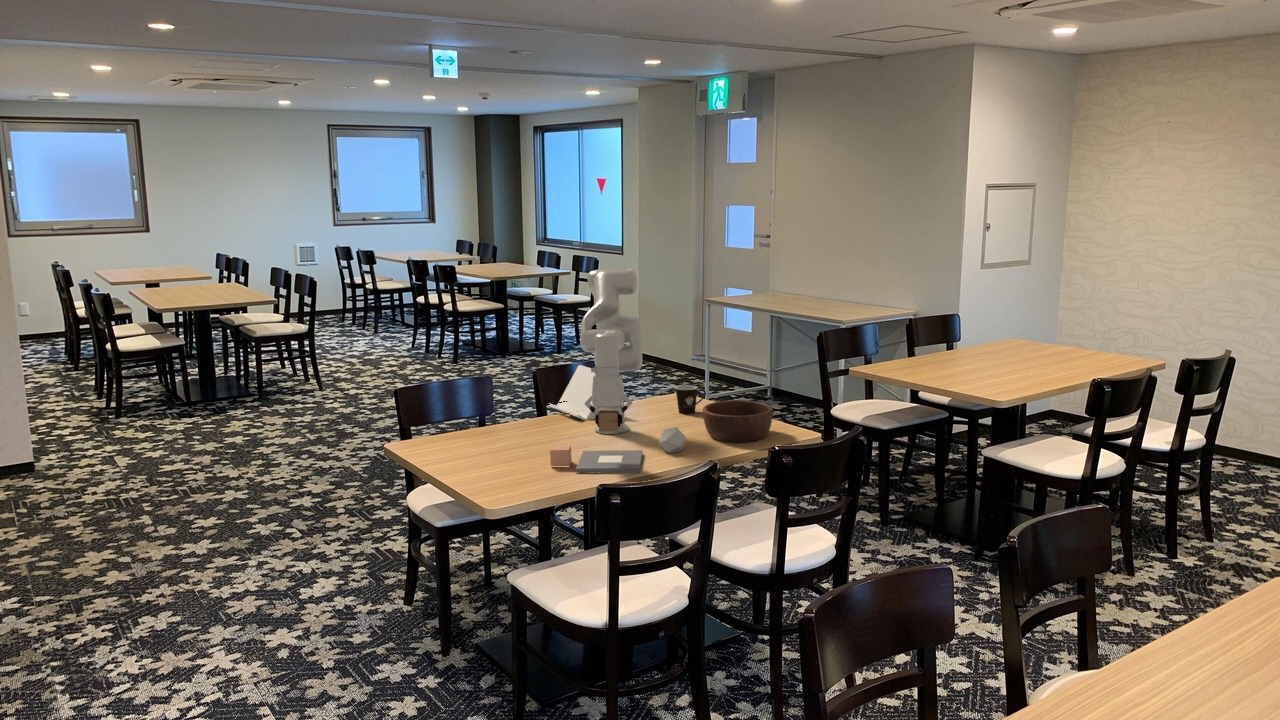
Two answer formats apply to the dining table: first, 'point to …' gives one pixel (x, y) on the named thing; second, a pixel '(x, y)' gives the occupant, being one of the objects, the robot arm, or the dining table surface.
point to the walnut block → (608, 420)
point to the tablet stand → (578, 394)
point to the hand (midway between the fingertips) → (609, 425)
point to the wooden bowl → (737, 420)
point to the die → (672, 440)
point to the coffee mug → (687, 398)
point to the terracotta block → (560, 455)
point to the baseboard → (610, 461)
